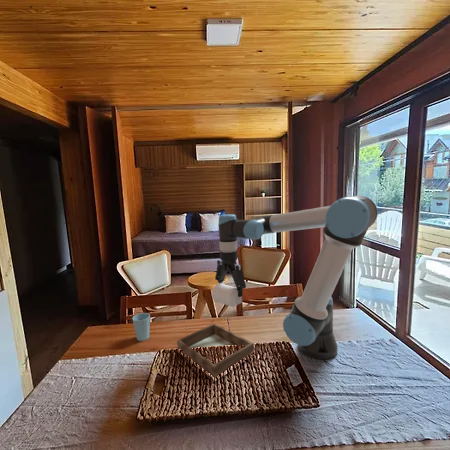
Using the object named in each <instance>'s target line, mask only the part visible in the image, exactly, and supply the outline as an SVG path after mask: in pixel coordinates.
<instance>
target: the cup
mask: <svg viewBox="0 0 450 450" xmlns="http://www.w3.org/2000/svg"><path fill="white" fill-rule="evenodd" d="M150 319H151V313H147V312H141V313H137V314H135V315H133V317H132V318H131V320H132V324H133V327H134V333H135V336H136V337H135V339H136V340H137V341H138V342H144V341H146V340H149V338H150V329H151V328H150V324H151V320H150Z"/></svg>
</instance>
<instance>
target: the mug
mask: <svg viewBox="0 0 450 450" xmlns="http://www.w3.org/2000/svg"><path fill="white" fill-rule="evenodd" d="M236 289H237V288H236V286H231V285H227V284H225V285H224V284H221V283H219V282H218V283H216V284H215V285H214V287H213V289H212V291H211V292H212V293H211V297H212V300H213V301H214V302H216V303H220V304H222V305H225V306H229V307H232V308H235V307H237V306H238V305H237V304H236Z"/></svg>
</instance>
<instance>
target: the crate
mask: <svg viewBox="0 0 450 450" xmlns="http://www.w3.org/2000/svg"><path fill="white" fill-rule="evenodd" d="M176 343H177V344H176V345H177V350H178V349H181V350H183V351H184V352H185V353H186V354H187V355H188V356H189V357H190V358H191V359H192V360H193V361H194V362H196V363H197V364H198V365H199V366H201V367H202V368H203V369H204V370H206V371H207V372H208V373H210V374H211V375H212V376H213V377H217V376H218V375H219V374H221V373H222V372H224V371H225V370H227V369H228V368H230V367H231V366H233V365H234V364H236V363H237V362H239V361H240V360H242V359H243V358H244V357H246V356H247V355H248V354H250V353H251V352H252V351H253V350H254V349H255V348H254V342H252V341H250V340H248V339H246V338H245V337H244V338H243V337H242V336H240V335H238V334H236V333H235V332H233V331H231V330H229V329H227V328H224V327H223V326H222V325H219V324H217V323H216V322H214V323H212V324H210V325H208V326H206V327H202V328H201V329H198V330H197V331H194V332H192V333H190V334H188V335H186V336H184V337H181V338H180V339H179V338H178V339H177V340H176ZM224 345H244V346H245V347H243V348H241V349H240V350H238V351H236V352H235V353H233V354H231V355H230V356H228V357H226V358H225V359H223V360H221V361H220V362H218V363H216V364H213V363H212V362H211V361H209V360H208V359H206V358H205V357H203V356H202V355H201V354H199V353H198V352H196V351H195V350H193V349H192V348H196V347H209V346H224Z"/></svg>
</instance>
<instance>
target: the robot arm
mask: <svg viewBox="0 0 450 450" xmlns="http://www.w3.org/2000/svg"><path fill="white" fill-rule="evenodd" d="M377 218H378V208H377V205H376V203H375V202H374V201H373V200H372V199H370V198H369V197H367V196H364V195H354V196H353V195H352V196H343V197H341V198H339V199H337V200H336V201H334V202H333V203H332V204H331V205H328V206H327V205H326V206H320V207H315V208H309V209H302V210H297V211H291V212H285V213H279V214H273V215H264V216H261V217H257V218H256V217H255V218H250V219H238V218H237V215H236V214H232V213H228V214H221V215H219V217H218V234H219V241H218V242H219V259H218V260H217V261H216V263H217V266H216V272H215V278H214V279H215V281H217V282H218V284H219V283H221V284H224V285H226V282H225V278H226V275H228V273H229V274H230V276H231V277H232V279H233V282H234V285H235V287H236V288H237V289H236V304H237V306H238V305H240V304H242V303H243V290H244V289H246V288H247V285H246V281H245V276H244V274H243V273H244V272H243V265H242V264H237V260H238V256H239V255H238V251H237V250H238V239H246V240H251V241H252V240H260V239H261V238H262V236H263V235H268V234H275V233H285V232H291V231H292V232H293V231H301V230H309V229H310V230H312V229H318V228H319V229H320V228H323V230H322V231H323V232H322V233H323V235H324V238H325V239H324V241H323V244H322V246H321V248H320V251H319V254H318V257H317V258H316V261H315V264H314V266H313V269H312V271H311V273H310V276H309V278H308V280H307V283H306V285H305V288H304V290H303V292H302V296H298V297H297V298H296V299H295V300H294V303H293V305H292V307H291V310H290V312H289V313H288V314H287V315H285V318H284V319H283V321H282V328H283V331H284V333H285V334H286V336H287V338H288V339H289V340H290V341H291V342H292V343H294V344H296V345H298V346H297V347H298V350H299V351H300V352H301V353H302V354H304V355H305V356H307V357H309V358H313V359H316V360H328V359H329V360H330V359H332V358H335V357H336V356H337V354H338V350H339V349H338V348H339V346H338V343H337V340H336V337H335V334H334V332H333V331H334V302H333V301H334V300H333V297H332V295H333V293H334V291H335V289H336V286H337V284H338V282H339V280H340V278H341V276H342V273H343V271H344V269H345V267H346V264H347V262H348V260H349V257H350V255H351V253H352V251H353V250H354V249H355V248H359V247H361V244H362V242H363V240H364V238H365V236H366V235H367V232H368V230H369V228H371V226H373V225H374V224H375V222H376V220H377Z"/></svg>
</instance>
